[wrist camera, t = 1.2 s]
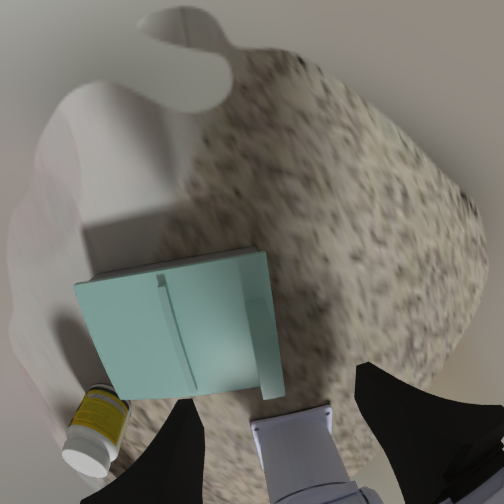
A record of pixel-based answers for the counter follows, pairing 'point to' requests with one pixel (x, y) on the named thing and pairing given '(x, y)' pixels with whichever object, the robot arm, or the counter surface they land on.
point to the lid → (186, 329)
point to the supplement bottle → (96, 431)
